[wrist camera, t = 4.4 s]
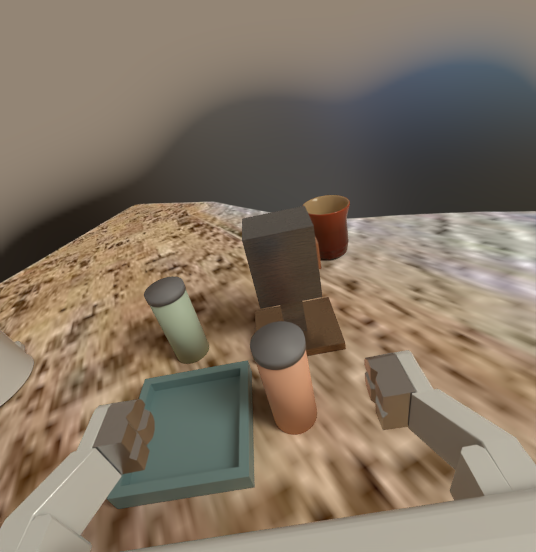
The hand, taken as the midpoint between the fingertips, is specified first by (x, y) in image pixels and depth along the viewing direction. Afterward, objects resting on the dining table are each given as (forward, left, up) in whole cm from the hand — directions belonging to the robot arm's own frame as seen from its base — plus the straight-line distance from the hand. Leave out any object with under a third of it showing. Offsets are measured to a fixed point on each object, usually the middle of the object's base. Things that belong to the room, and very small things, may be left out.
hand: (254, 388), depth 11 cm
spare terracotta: (0, +14, -24) cm, 28 cm away
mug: (+12, +49, -24) cm, 56 cm away
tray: (-12, +14, -24) cm, 30 cm away
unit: (+2, +27, -24) cm, 36 cm away
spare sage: (-14, +27, -24) cm, 39 cm away
